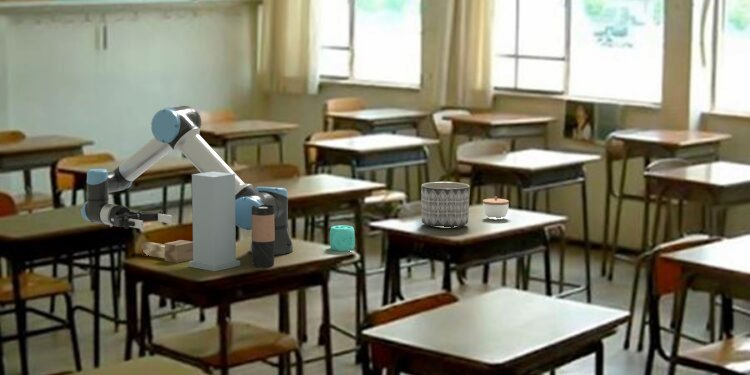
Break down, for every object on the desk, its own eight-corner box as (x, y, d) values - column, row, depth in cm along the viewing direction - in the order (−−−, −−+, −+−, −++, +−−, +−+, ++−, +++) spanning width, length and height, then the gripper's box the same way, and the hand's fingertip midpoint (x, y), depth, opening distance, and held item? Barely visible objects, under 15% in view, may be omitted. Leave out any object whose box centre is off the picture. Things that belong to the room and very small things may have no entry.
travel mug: (271, 268, 409) (270, 208, 406) (249, 266, 410) (248, 207, 408) (277, 263, 416) (277, 205, 413) (255, 262, 418) (255, 204, 415)
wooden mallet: (136, 255, 428) (136, 238, 428) (153, 251, 435) (153, 235, 434) (177, 262, 417) (176, 245, 416) (194, 259, 423) (193, 241, 422)
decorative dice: (329, 247, 445) (329, 225, 444) (351, 246, 447) (351, 225, 445) (332, 251, 438) (332, 229, 436) (354, 251, 439) (354, 228, 438)
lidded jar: (498, 216, 514) (499, 193, 513) (513, 220, 505) (514, 197, 504) (477, 218, 509) (477, 195, 508) (492, 222, 500) (492, 199, 499)
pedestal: (189, 266, 410) (187, 174, 406) (214, 260, 420) (213, 170, 415) (214, 271, 403) (213, 177, 399) (240, 265, 413) (239, 174, 408)
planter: (411, 226, 487) (411, 185, 485) (437, 220, 503) (438, 180, 500) (452, 232, 476) (453, 190, 474) (478, 225, 492) (478, 184, 489)
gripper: (142, 221, 449) (183, 227, 437) (88, 230, 430) (129, 237, 417) (142, 200, 448) (183, 207, 436) (88, 209, 429) (129, 216, 416)
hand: (157, 222), depth 426 cm, fingers open, 13 cm apart
